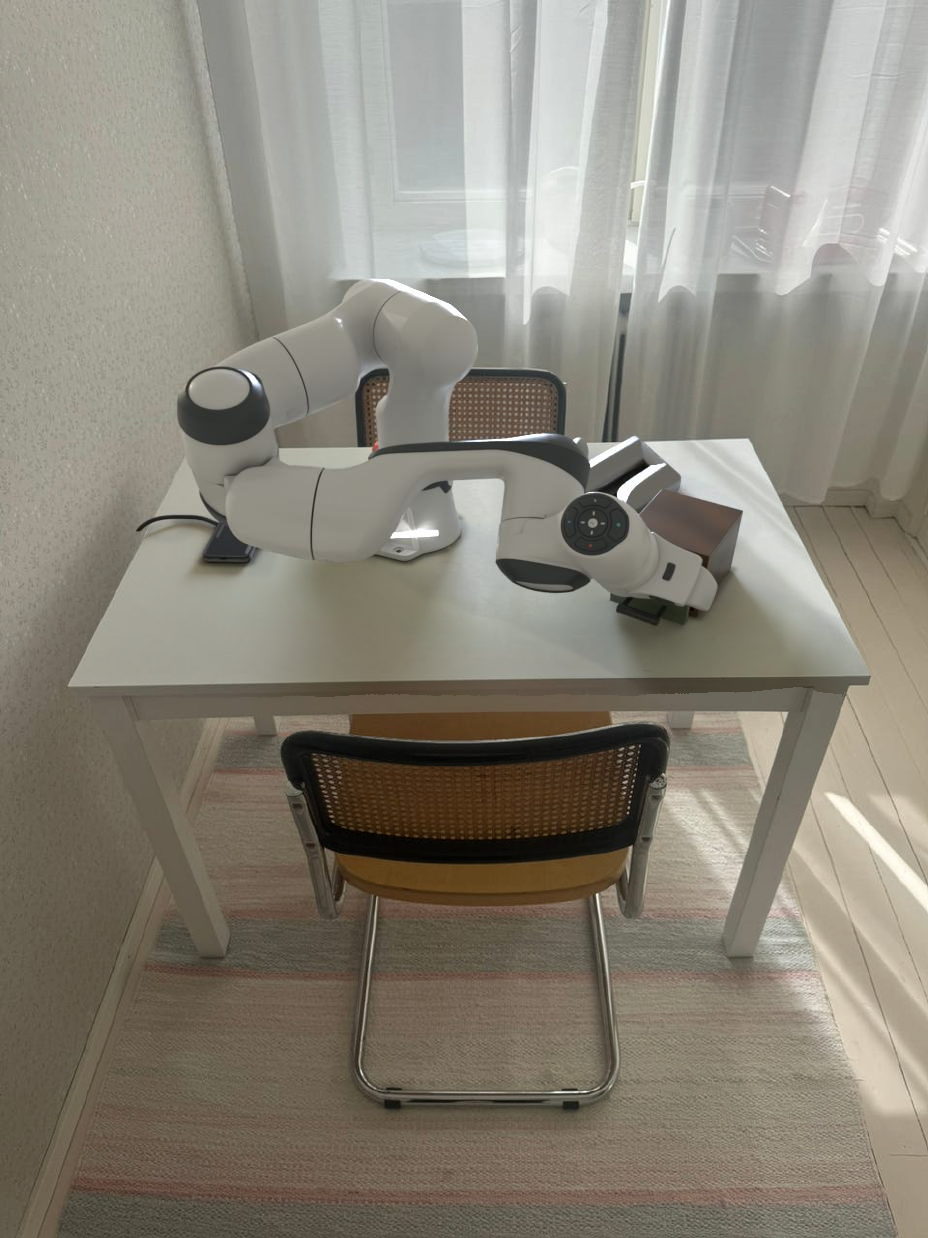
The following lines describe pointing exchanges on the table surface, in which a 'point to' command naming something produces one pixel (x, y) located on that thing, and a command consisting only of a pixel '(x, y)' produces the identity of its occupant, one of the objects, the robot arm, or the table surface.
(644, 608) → the green drawer
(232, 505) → the robot arm
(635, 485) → the emblem
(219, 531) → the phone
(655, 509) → the cabinet
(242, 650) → the table surface
